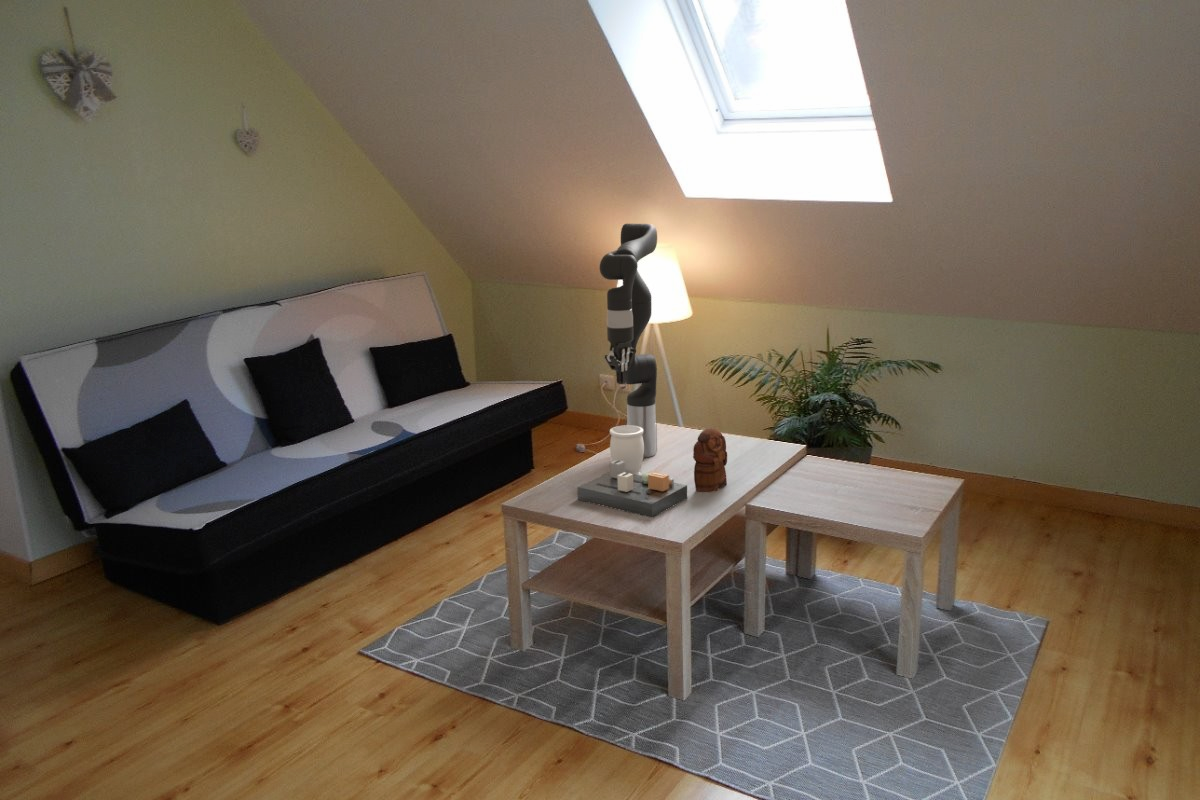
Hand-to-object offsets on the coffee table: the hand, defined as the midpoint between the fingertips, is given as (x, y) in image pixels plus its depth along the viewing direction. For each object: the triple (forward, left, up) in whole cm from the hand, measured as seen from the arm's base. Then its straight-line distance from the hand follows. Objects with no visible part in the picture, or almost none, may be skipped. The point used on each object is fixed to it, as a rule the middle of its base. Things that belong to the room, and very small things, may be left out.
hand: (621, 383), depth 292 cm
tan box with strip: (+5, +16, -28) cm, 33 cm away
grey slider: (+3, 0, -28) cm, 28 cm away
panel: (+7, +8, -32) cm, 34 cm away
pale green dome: (+2, +11, -28) cm, 30 cm away
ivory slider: (+11, +9, -28) cm, 31 cm away
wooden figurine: (-14, +22, -32) cm, 41 cm away
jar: (-9, -5, -32) cm, 34 cm away
